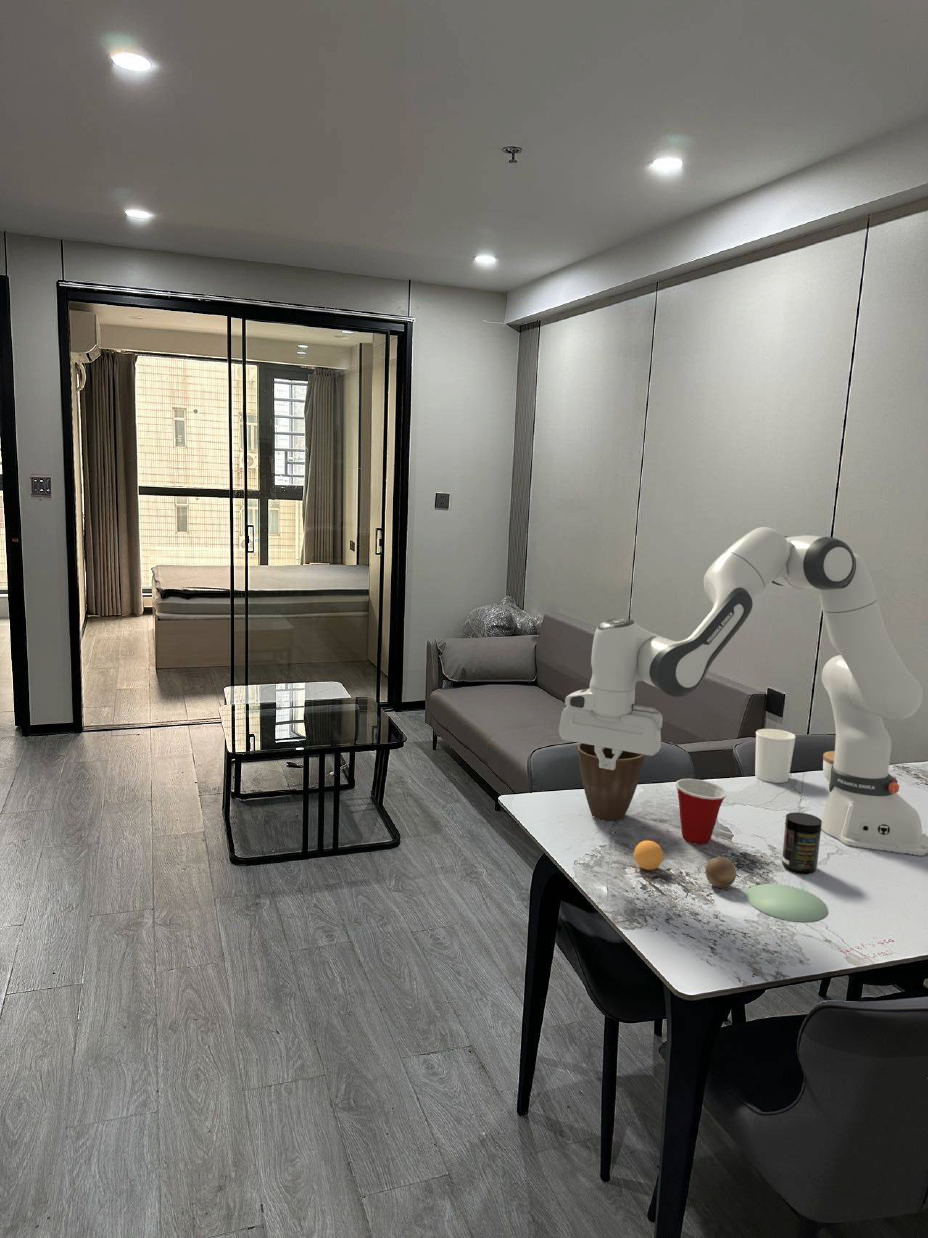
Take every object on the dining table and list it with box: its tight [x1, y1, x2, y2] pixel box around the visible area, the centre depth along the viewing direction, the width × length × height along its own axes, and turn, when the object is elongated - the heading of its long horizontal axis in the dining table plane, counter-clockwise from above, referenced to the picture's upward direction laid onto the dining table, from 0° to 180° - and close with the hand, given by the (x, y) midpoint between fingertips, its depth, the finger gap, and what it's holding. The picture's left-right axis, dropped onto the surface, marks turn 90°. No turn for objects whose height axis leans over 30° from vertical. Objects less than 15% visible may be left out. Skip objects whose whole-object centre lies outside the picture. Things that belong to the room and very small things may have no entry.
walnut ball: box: [704, 856, 737, 889], centre depth 162 cm, size 6×6×6 cm
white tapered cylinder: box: [754, 728, 796, 784], centre depth 225 cm, size 10×10×12 cm
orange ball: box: [633, 839, 664, 871], centre depth 169 cm, size 6×6×6 cm
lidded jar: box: [822, 750, 835, 783], centre depth 221 cm, size 11×11×9 cm
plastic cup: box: [675, 778, 728, 845], centre depth 183 cm, size 11×11×12 cm
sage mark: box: [745, 883, 828, 923], centre depth 157 cm, size 14×14×1 cm
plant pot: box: [577, 743, 646, 822], centre depth 194 cm, size 15×15×16 cm
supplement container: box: [781, 812, 822, 875], centre depth 171 cm, size 7×7×10 cm
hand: (607, 768), depth 171 cm, fingers closed
